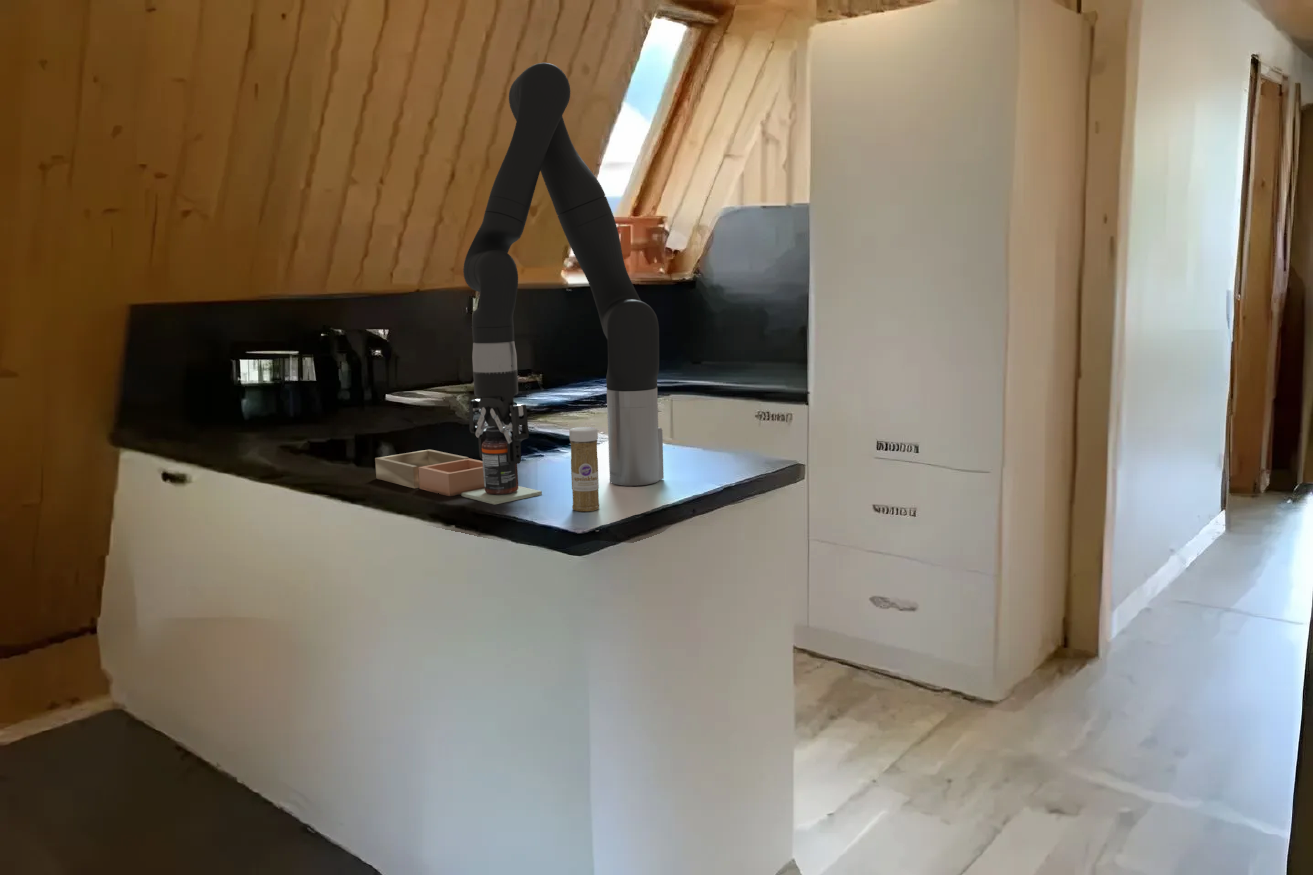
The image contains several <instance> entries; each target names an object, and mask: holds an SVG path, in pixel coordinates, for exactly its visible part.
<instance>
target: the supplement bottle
mask: <svg viewBox="0 0 1313 875" xmlns="http://www.w3.org/2000/svg"><path fill="white" fill-rule="evenodd" d="M486 436H487V438H486V439H485V441H484V442H483V443H482V460H481V461H483V475H484V478H483V479H484V487H485V492H486V493H488V494H492V495H503V494H510V493H513V492H515V491H517V490H518V486H519V474H518V473H519V472H518V471H519V470H518V464H513V465H512V464H509V463H508V452H507V443H508V441H507V439H506V437H505V435H504V433H502V432H500V430H499V428H496V427H491V428H487V429H486Z"/></svg>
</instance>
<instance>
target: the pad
mask: <svg viewBox="0 0 1313 875" xmlns="http://www.w3.org/2000/svg"><path fill="white" fill-rule="evenodd" d="M460 495H461V497H463V498H467V499H471V500H474V501H479V502H483V503H487V504H490V505H500V504H503V503H509V502H513V501H518V500H523V499H526V498H533V497H537V496H541V495H543V492H542V490H538V489H534V488H529V487H524V486H520V485H518V490H517V491H515V492H513V493H510V494H503V495H492V494H488V493H486V492H485V488H484V489H479V490H473V491H468V492H463V493H461V494H460Z"/></svg>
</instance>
